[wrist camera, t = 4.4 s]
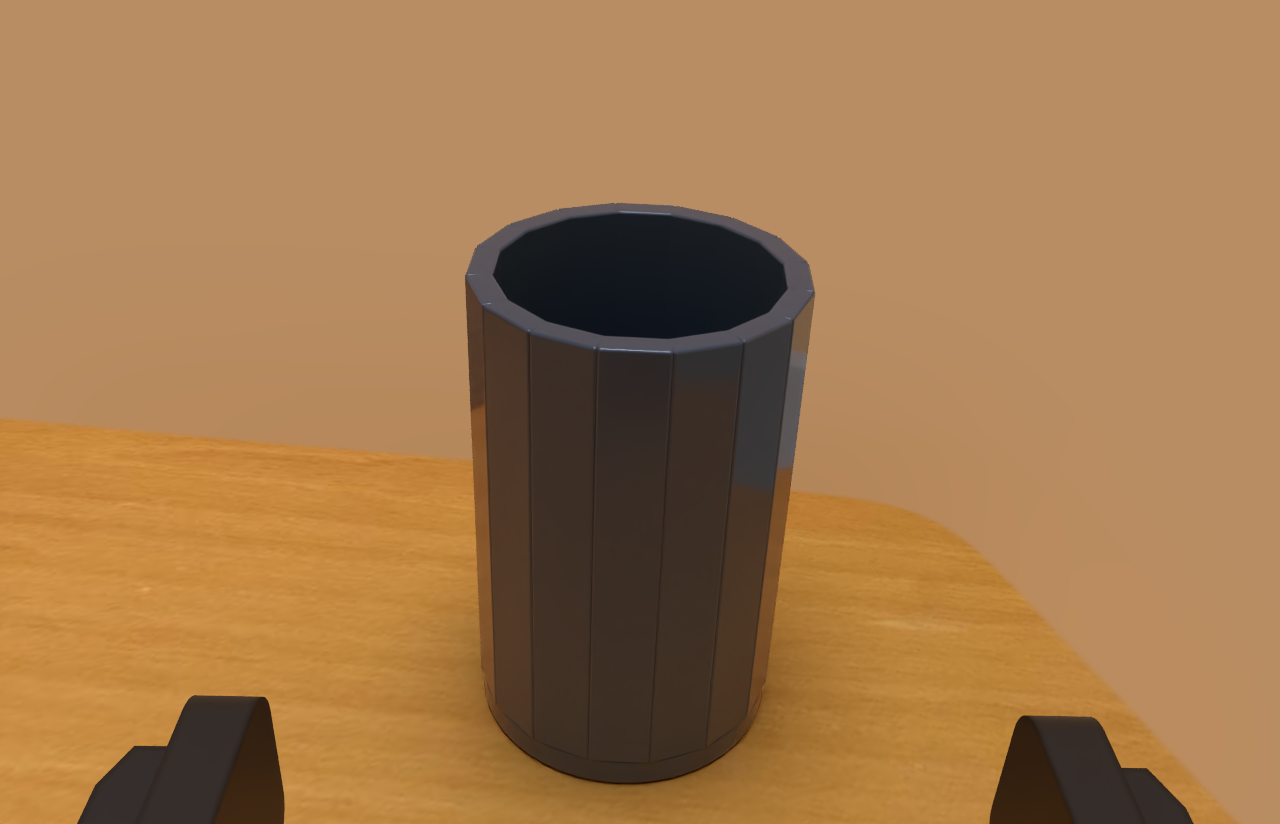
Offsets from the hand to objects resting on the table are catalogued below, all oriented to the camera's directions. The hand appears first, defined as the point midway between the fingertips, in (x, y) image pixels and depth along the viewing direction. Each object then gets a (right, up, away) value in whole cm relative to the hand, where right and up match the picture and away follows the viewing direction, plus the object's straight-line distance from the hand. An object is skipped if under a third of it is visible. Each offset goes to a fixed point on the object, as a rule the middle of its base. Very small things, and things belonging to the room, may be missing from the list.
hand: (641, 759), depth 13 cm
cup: (0, -2, +14) cm, 14 cm away
